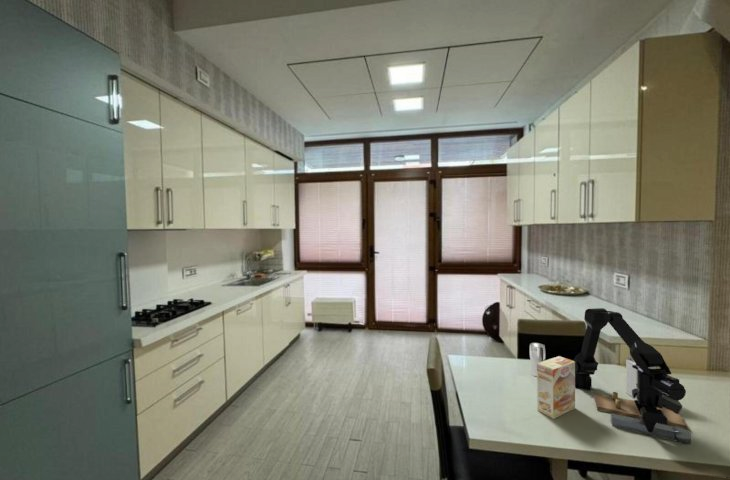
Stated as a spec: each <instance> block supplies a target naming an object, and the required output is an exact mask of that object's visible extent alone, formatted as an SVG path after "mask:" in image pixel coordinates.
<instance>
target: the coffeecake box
mask: <svg viewBox="0 0 730 480" xmlns="http://www.w3.org/2000/svg"><path fill="white" fill-rule="evenodd" d="M536 378H537V379H536V382H537V390H536V391H537V392H536V393H537V396H536V398H537V409H536V410H537V411H538V412H539V413H542V414H544V415H545V416H548V417H549V418H551V419H553V420H554V419H556V418H558V417H561V416H562V415H565V414H566V413H568V412H570V411H572V410H574V409H576V388H575V361H574V360H572V359H569V358H566V357H563V356H561V355H558V356H556V357H555V356H554V357H552V358H548V359H545V361H543V362H540V363H537V377H536Z"/></svg>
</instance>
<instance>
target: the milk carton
mask: <svg viewBox="0 0 730 480" xmlns="http://www.w3.org/2000/svg"><path fill="white" fill-rule="evenodd" d="M625 363H626V364H625V367H626V368H625V369H626V370H625V373H626V378H625V379H626V380H625V383H626V387H625V389H626V390H625V391H626V393H627V394H628V395H629V396H630V397H631V398H633V396H632V390H633V389H637V387H636V384H638V373H637V369H635V368H633V367H632V366H633V365H635V364H636V363H635V361H634V360H633V358H632V357H631V355H630V356H629V357H627V358H626V360H625ZM649 368H651V369H657V367H649ZM633 400H637V398H633Z"/></svg>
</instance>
